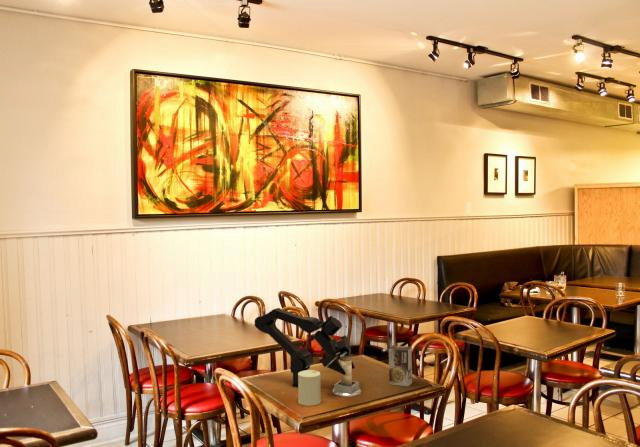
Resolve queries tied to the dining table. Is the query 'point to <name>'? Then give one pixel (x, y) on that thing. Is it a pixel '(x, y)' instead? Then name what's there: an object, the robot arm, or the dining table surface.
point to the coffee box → (400, 365)
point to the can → (309, 387)
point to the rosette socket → (347, 389)
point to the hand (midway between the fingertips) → (349, 371)
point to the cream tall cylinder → (346, 370)
